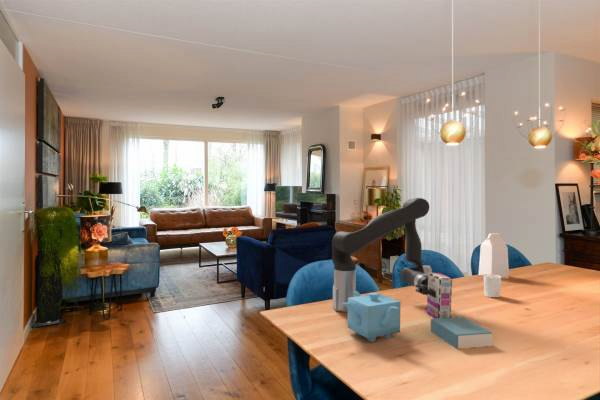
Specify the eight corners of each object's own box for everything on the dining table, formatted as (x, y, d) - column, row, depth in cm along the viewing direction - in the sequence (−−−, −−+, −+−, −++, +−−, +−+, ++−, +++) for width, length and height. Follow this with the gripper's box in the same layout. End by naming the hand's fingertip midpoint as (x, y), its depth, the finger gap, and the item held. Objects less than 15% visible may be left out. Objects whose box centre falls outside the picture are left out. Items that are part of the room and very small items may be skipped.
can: (432, 291, 199) (432, 267, 199) (417, 290, 200) (417, 267, 200) (430, 287, 206) (431, 265, 206) (416, 286, 208) (416, 264, 207)
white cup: (483, 297, 188) (484, 276, 187) (482, 293, 195) (483, 273, 195) (501, 299, 185) (502, 278, 184) (500, 295, 192) (500, 274, 192)
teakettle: (401, 329, 143) (401, 289, 143) (398, 348, 125) (398, 303, 125) (350, 323, 149) (350, 285, 149) (340, 341, 131) (341, 298, 131)
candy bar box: (451, 322, 144) (452, 278, 144) (438, 322, 144) (439, 278, 143) (438, 312, 155) (439, 272, 155) (426, 313, 155) (427, 272, 154)
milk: (491, 278, 228) (492, 234, 227) (478, 274, 239) (479, 232, 238) (509, 278, 230) (509, 234, 230) (495, 274, 241) (496, 232, 241)
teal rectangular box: (456, 350, 125) (456, 334, 125) (430, 332, 141) (430, 318, 141) (492, 347, 128) (493, 332, 128) (463, 330, 144) (463, 316, 144)
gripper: (409, 274, 163) (423, 284, 146) (442, 275, 164) (461, 285, 147) (408, 292, 163) (423, 304, 146) (442, 292, 164) (460, 304, 147)
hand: (442, 294), depth 147 cm, fingers closed on candy bar box, 5 cm apart
